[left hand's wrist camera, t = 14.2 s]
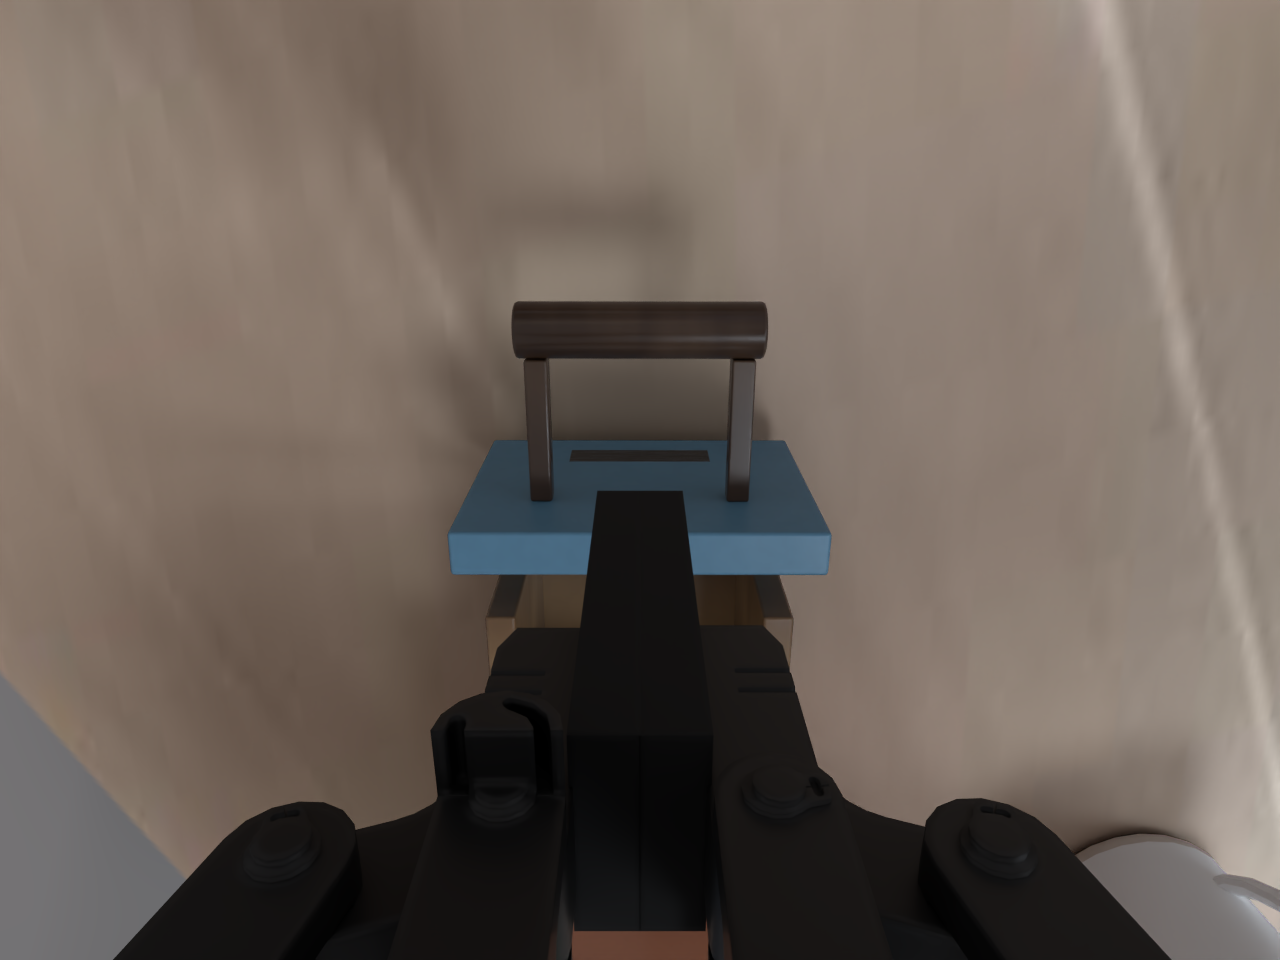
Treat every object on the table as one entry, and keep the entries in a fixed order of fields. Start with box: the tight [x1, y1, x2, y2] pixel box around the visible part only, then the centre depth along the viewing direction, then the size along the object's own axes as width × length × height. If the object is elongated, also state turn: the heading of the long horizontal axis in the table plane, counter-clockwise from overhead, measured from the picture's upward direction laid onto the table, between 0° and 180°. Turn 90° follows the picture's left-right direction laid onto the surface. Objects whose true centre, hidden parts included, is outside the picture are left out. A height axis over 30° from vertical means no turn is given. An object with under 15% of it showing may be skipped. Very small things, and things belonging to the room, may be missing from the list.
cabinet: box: [572, 920, 708, 960], centre depth 30 cm, size 15×11×9 cm
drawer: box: [448, 301, 832, 675], centre depth 26 cm, size 19×10×7 cm, turn 0°
